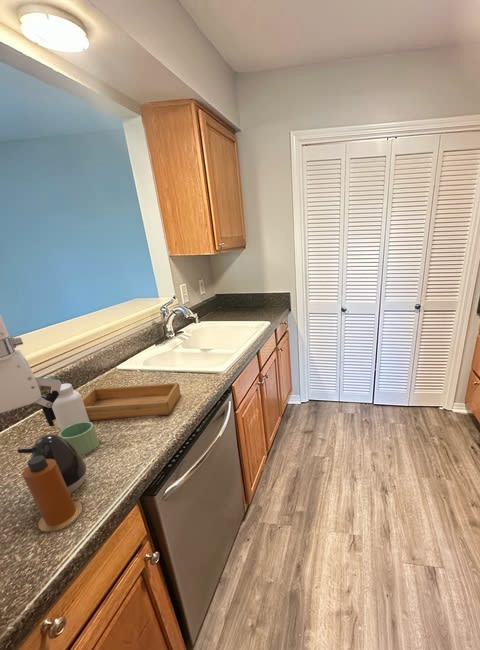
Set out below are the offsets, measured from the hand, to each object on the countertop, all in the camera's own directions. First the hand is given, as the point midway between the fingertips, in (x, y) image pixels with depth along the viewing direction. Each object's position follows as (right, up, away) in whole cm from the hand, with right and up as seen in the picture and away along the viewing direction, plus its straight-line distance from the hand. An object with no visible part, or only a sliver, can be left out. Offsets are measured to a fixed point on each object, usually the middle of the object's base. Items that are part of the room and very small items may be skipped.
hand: (21, 434), depth 62 cm
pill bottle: (-18, -7, +41) cm, 46 cm away
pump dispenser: (-3, -17, +17) cm, 24 cm away
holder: (-9, -11, +32) cm, 35 cm away
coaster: (+1, -20, +9) cm, 22 cm away
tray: (-6, -2, +52) cm, 53 cm away
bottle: (+2, -19, +8) cm, 21 cm away
